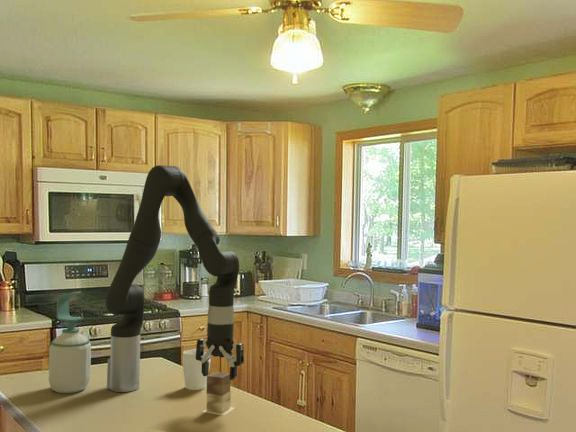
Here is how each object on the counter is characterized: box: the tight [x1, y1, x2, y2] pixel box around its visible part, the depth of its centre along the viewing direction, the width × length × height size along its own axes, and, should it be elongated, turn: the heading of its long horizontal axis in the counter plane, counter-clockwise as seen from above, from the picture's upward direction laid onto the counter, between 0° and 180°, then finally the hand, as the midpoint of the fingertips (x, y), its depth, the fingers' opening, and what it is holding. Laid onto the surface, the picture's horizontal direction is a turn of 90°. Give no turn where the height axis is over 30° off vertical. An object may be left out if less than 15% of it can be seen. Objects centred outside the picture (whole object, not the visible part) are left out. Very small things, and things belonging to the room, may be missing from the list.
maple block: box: [206, 390, 232, 414], centre depth 165 cm, size 5×5×5 cm
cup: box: [181, 348, 212, 391], centre depth 187 cm, size 9×9×12 cm
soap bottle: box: [48, 290, 92, 394], centre depth 183 cm, size 12×12×31 cm
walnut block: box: [206, 371, 232, 396], centre depth 165 cm, size 5×5×5 cm
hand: (219, 377), depth 165 cm, fingers open, 8 cm apart
